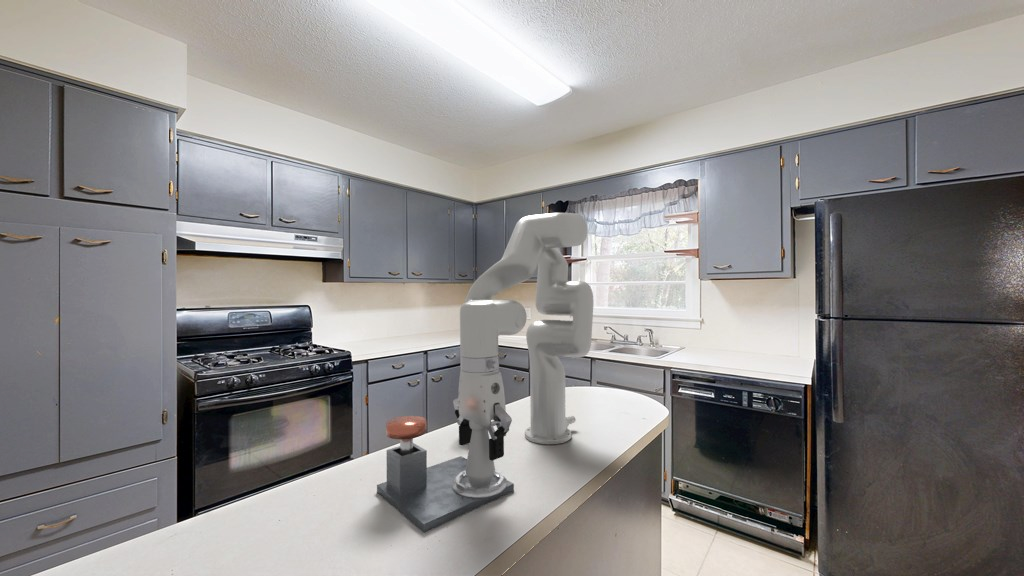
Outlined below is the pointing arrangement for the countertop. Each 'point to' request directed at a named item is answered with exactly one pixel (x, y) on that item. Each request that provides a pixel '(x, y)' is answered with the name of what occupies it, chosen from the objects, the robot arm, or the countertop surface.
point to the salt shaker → (479, 457)
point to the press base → (435, 488)
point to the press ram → (406, 431)
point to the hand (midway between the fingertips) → (480, 450)
